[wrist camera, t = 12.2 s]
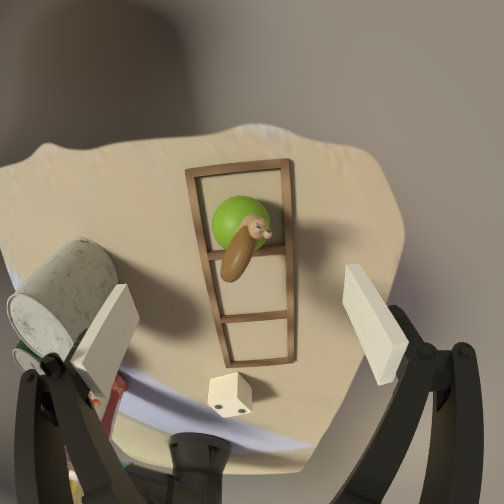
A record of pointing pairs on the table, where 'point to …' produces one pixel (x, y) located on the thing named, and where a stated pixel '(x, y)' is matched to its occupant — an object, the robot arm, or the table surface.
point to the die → (230, 395)
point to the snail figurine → (240, 233)
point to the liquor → (107, 418)
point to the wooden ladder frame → (263, 250)
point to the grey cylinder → (62, 297)
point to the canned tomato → (27, 358)
